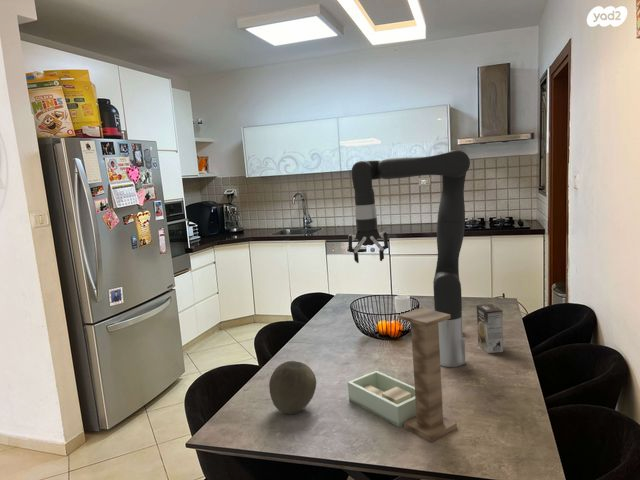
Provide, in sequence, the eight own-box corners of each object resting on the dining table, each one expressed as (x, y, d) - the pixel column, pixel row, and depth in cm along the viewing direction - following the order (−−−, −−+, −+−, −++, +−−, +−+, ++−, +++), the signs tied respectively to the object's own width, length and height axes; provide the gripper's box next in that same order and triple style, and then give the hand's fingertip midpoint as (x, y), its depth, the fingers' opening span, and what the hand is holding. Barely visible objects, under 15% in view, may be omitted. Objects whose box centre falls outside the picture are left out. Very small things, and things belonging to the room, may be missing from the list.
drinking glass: (412, 327, 212) (411, 294, 210) (410, 332, 206) (408, 299, 203) (397, 327, 214) (395, 294, 212) (395, 332, 208) (392, 298, 206)
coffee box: (477, 345, 186) (475, 304, 184) (493, 343, 187) (492, 303, 184) (487, 353, 177) (486, 311, 175) (504, 351, 178) (503, 309, 175)
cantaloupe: (300, 426, 137) (296, 376, 135) (262, 416, 145) (257, 369, 143) (326, 403, 149) (322, 358, 147) (289, 395, 156) (285, 352, 154)
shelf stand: (404, 427, 132) (397, 315, 127) (428, 414, 138) (423, 307, 133) (431, 442, 124) (425, 323, 119) (456, 428, 129) (451, 314, 125)
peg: (359, 396, 150) (358, 381, 149) (373, 390, 153) (372, 375, 153) (396, 416, 136) (395, 400, 135) (412, 409, 139) (411, 393, 139)
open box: (349, 400, 150) (347, 382, 149) (377, 387, 157) (376, 370, 156) (398, 427, 132) (397, 407, 131) (428, 412, 139) (427, 392, 138)
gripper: (346, 220, 167) (350, 265, 169) (387, 216, 167) (390, 261, 169) (345, 218, 174) (349, 261, 177) (384, 214, 174) (387, 258, 177)
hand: (369, 261), depth 173 cm, fingers open, 8 cm apart
